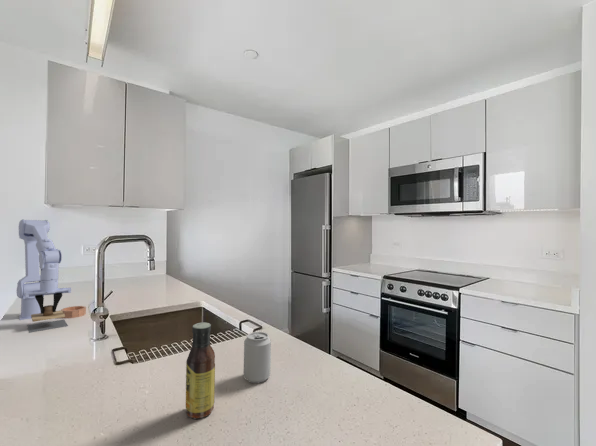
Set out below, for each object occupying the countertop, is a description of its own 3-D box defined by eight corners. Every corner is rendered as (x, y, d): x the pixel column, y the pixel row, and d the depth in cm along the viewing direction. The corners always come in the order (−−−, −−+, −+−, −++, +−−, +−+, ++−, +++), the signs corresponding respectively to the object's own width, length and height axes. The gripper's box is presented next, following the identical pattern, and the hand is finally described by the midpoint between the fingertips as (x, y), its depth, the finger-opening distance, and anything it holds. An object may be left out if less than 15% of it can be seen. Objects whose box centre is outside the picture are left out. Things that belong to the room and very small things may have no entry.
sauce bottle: (189, 404, 71) (191, 319, 71) (216, 403, 71) (218, 319, 72) (181, 422, 64) (183, 329, 64) (210, 421, 65) (213, 328, 65)
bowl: (59, 315, 138) (60, 308, 138) (83, 312, 144) (83, 304, 144) (62, 320, 131) (62, 312, 131) (87, 316, 137) (87, 308, 138)
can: (248, 387, 79) (249, 341, 79) (240, 374, 85) (241, 332, 86) (274, 380, 82) (275, 337, 82) (264, 369, 89) (265, 328, 89)
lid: (31, 316, 123) (31, 305, 123) (61, 311, 130) (62, 302, 130) (32, 321, 116) (33, 310, 116) (65, 316, 123) (65, 306, 123)
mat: (27, 326, 123) (27, 325, 123) (64, 320, 131) (64, 319, 131) (28, 333, 114) (29, 332, 114) (68, 327, 123) (68, 326, 123)
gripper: (26, 282, 115) (24, 318, 115) (72, 278, 125) (71, 311, 125) (25, 280, 120) (23, 314, 120) (70, 276, 130) (69, 307, 130)
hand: (48, 312), depth 123 cm, fingers closed on lid, 3 cm apart
